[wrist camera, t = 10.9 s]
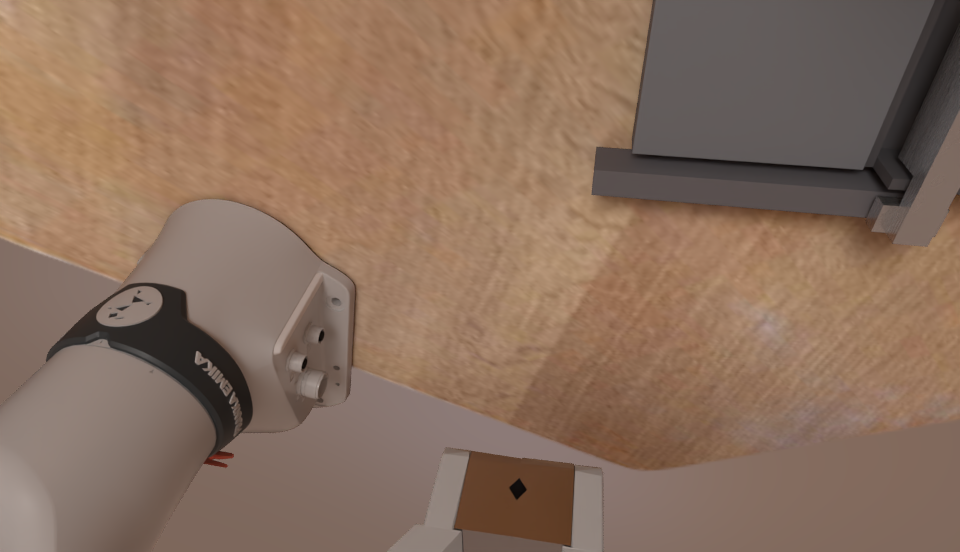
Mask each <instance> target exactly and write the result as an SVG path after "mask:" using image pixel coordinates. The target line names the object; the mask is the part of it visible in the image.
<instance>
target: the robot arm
mask: <svg viewBox="0 0 960 552" xmlns="http://www.w3.org/2000/svg"><path fill="white" fill-rule="evenodd" d="M337 298H338V299H339V300H338V299H337ZM354 304H355V286H354V284H353V282H352V281H351V280H350V279H349V278H348V277H347V276H346V275H344V274H343V273H341V272H340V271H338V270H337V269H335V268H333V267H332V266H330V265H328V264H326V263H325V262H323V261H322V260H320V259H319V258H318V257H317V256H316V255H315V254H314V253H313V252H312V251H311V250H310V249H309V248H308V247H307V245H306V244H305V243H304V242H303V241H302V240H301V239H300V238H299V237H298V236H297V235H295V234H294V233H293V232H292V231H291V230H289V229H288V228H287V227H286V226H284V225H283V224H281V223H280V222H279V221H277V220H275V219H274V218H272V217H270V216H269V215H267V214H265V213H263V212H261V211H259V210H256V209H254V208H252V207H249V206H246V205H243V204H240V203H236V202H232V201H227V200H219V199H204V200H197V201H193V202H190V203H187V204H185V205H183V206H181V207H179V208H178V209H176V210H175V211H174V212H173V213H172V214H171V215H170V216H169V218H168V219H167V221H166V223H165V225H164V227H163V228H162V230H161V232H160V234H159V235H158V237H157V239H156V240H155V242H154V243H153V244H152V246H151V247H150V248H149V249H148V250H147V251H146V252H145V253H144V254H143V255H142V257H141V258H140V259H139V260H138V262H137V266H136V267H135V268H134V270H133V271H132V272H131V273H130V275H129V276H128V277H127V278H126V280H125V281H124V282H123V283H122V284H121V286H120V287H119V288H118V289H117V291H116V292H115V293H114V294H113V295H111V296H110V297H108V298H107V299H106V300H104V301H103V302H102V303H100V304H99V305H97V306H96V307H94V308H93V309H92V310H90V311H89V312H88V313H87V314H86V315H85V316H84V317H83V318H81V319H80V320H79V321H78V322H77V323H76V324H75V325H74V326H73V327H72V328H71V329H70V330H69V331H68V332H66V333H65V334H64V335H63V336H62V337H61V338H60V339H59V341H58V342H57V343H56V344H55V345H54V346H53V347H52V348H51V349H50V351H49V352H48V354H47V359H46V363H45V364H44V365H43V366H42V367H41V368H40V369H39V370H38V371H37V372H35V373H34V374H33V375H32V376H31V377H30V378H29V379H28V380H27V381H26V382H25V383H24V384H23V385H21V386H20V387H19V388H18V389H17V390H16V391H15V392H14V393H13V394H12V395H11V396H10V397H9V398H7V399H6V400H5V401H4V402H3V403H2V404H1V405H0V552H152V551H153V549H154V547H155V545H156V543H157V541H158V539H159V538H160V536H161V534H162V532H163V530H164V528H165V527H166V525H167V523H168V521H169V519H170V517H171V516H172V514H173V512H174V511H175V509H176V507H177V505H178V504H179V502H180V500H181V498H182V497H183V495H184V493H185V492H186V490H187V489H188V487H189V485H190V483H191V482H192V480H193V479H194V477H195V476H196V474H197V472H198V471H199V469H200V468H201V466H202V465H203V464H209V465H214V466H220V467H227V464H224V463H221V462H217V461H214V460H213V459H228V458H233V457H234V454H232V453H227V452H221V451H220V450H221V449H222V448H223V447H225V446H226V445H227V444H228V443H230V442H231V441H232V440H233V439H234V438H235V437H236V436H238V434H240V433H275V432H283V431H287V430H291V429H293V428H295V427H297V426H299V425H300V424H301V423H302V422H303V421H304V420H305V419H306V417H307V416H308V414H309V413H310V411H311V409H312V408H316V407H328V406H333V405H337V404H340V403H343V402H345V400H346V399H347V397H348V395H349V394H350V386H351V366H352V346H353V325H354ZM603 531H604V529H603V472H602V469H601V468H598V467H589V466H580V465H575V466H574V464H572V463H571V464H570V463H563V462H554V461H546V460H537V459H528V458H522V459H521V458H514V457H508V456H501V455H494V454H488V453H482V452H475V451H469V450H462V449H454V448H447V447H446V448H445V450H444V452H443V454H442V457H441V460H440V465H439V468H438V472H437V476H436V479H435V483H434V487H433V491H432V494H431V498H430V502H429V506H428V509H427V513H426V517H425V520H424V524H423V525H422V524H415V525H414V526H413V527H412V528H411V529H410V530H409V531H408V532H407V533H406V534H405V535H403V537H401V538H400V539H399V540H398V541H397V542H396V543H395V544H394V545H393V546H392V547H391V548H390V549H389V550H388V551H387V552H604V537H603V536H604V535H603V534H604V532H603Z"/></svg>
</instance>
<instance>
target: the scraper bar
mask: <svg viewBox="0 0 960 552" xmlns="http://www.w3.org/2000/svg"><path fill="white" fill-rule="evenodd" d="M898 157H899V159H900V160H901V161H902V162H903V164H904V165H905V166H906V167H907V169H908V170H909V171H910V173H911V174H912V175H913V178H912V180H911V182H910V184H909V186H908V188H907V190H906V192H905V194H904V197H893V196H880V195H877V197H876V199H875V201H874V203H873V205H872V208H871V210H870V212H869V214H868V216H867V219H866V221H865V222H866V224H867V225H868V227H869V229H870V230H871V232H882V233H886V234H887V236H888V237H889V239H890V240H891V242H892V244H902V245H914V246H925V247H927V246H928V245H929V243H930V241H931V239H932V237H935V236H936V234H937V232H938V230H939V229H940V227H941V225H942V223H943V221H944V219H945V218H946V216H947V214H948V212H949V209H948V208H949V206H950V205H951V203H952V201H953V199H954V197H955V195H956V194H957V192H958V190H959V188H960V24H959V26H958V28H957V30H956V32H955V34H954V37H953V39H952V41H951V43H950V45H949V47H948V50H947V52H946V54H945V56H944V58H943V61H942V63H941V65H940V67H939V69H938V71H937V74H936V76H935V78H934V80H933V82H932V84H931V87H930V89H929V91H928V93H927V95H926V98H925V100H924V102H923V104H922V106H921V108H920V111H919V113H918V115H917V117H916V119H915V121H914V124H913V126H912V128H911V130H910V132H909V134H908V137H907V139H906V141H905V143H904V145H903V148H902V150H901V152H900V154H899V156H898Z"/></svg>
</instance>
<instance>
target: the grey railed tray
mask: <svg viewBox="0 0 960 552" xmlns="http://www.w3.org/2000/svg"><path fill="white" fill-rule="evenodd" d="M934 1H935V0H653V4H652V10H651V17H650V23H649V30H648V37H647V43H646V50H645V56H644V63H643V70H642V76H641V83H640V89H639V96H638V103H637V109H636V116H635V123H634V129H633V136H632V149H618V148H603V147H597V149H596V157H595V166H594V176H593V185H592V195H601V196H613V197H625V198H636V199H648V200H660V201H672V202H684V203H696V204H708V205H720V206H732V207H744V208H756V209H768V210H780V211H792V212H804V213H816V214H828V215H840V216H852V217H864V218H867V216H868V214H869V212H870V210H871V208H872V205H873V203H874V201H875V199H876V197H877V195H880V196H893V197H904V194H905V192H906V191H905V190H892V189H887V187H886V186H885V184H884V183H883V181H882V180H881V178H880V177H879V176H878V174H877V173H876V171H875V170H874V168H873V167H864V166H865V164H866V161H867V159H868V157H869V154H870V152H871V150H872V147H873V145H874V143H875V140H876V138H877V135H878V133H879V131H880V128H881V126H882V124H883V121H884V119H885V117H886V114H887V112H888V110H889V107H890V105H891V103H892V100H893V98H894V96H895V93H896V91H897V88H898V86H899V84H900V81H901V79H902V77H903V74H904V72H905V70H906V67H907V65H908V63H909V60H910V58H911V56H912V53H913V51H914V49H915V46H916V44H917V41H918V39H919V37H920V34H921V32H922V30H923V27H924V25H925V23H926V20H927V18H928V16H929V13H930V11H931V9H932V6H933V4H934Z"/></svg>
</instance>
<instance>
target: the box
mask: <svg viewBox="0 0 960 552" xmlns="http://www.w3.org/2000/svg"><path fill="white" fill-rule="evenodd" d="M959 24H960V0H935V1H934V4H933V6H932V9H931V11H930V13H929V16H928V18H927V20H926V23H925V25H924V27H923V30H922V32H921V34H920V37H919V39H918V41H917V44H916V46H915V49H914V51H913V53H912V56H911V58H910V60H909V63H908V65H907V67H906V70H905V72H904V74H903V77H902V79H901V81H900V84H899V86H898V88H897V91H896V93H895V96H894V98H893V100H892V103H891V105H890V107H889V110H888V112H887V114H886V117H885V119H884V121H883V124H882V126H881V128H880V131H879V133H878V135H877V138H876V140H875V143H874V145H873V147H872V150H871V152H870V154H869V157H868V159H867V161H866V164H865V166H864V167H873V168H874V170H875V171H876V173H877V174H878V176H879V177H880V178H881V180H882V181H883V183H884V184H885V186H886V187H887V189H892V190H905V191H906V190H907V188H908V186H909V184H910V182H911V180H912V178H913V175H912V174H911V173H910V171H909V170H908V169H907V167H906V166H905V165H904V164H903V162H902V161H901V160H900V159H899V157H898V156H899V154H900V152H901V150H902V148H903V145H904V143H905V141H906V139H907V137H908V134H909V132H910V130H911V128H912V126H913V124H914V121H915V119H916V117H917V115H918V113H919V111H920V108H921V106H922V104H923V102H924V100H925V98H926V95H927V93H928V91H929V89H930V87H931V84H932V82H933V80H934V78H935V76H936V74H937V71H938V69H939V67H940V65H941V63H942V61H943V58H944V56H945V54H946V52H947V50H948V47H949V45H950V43H951V41H952V39H953V37H954V34H955V32H956V30H957V28H958V26H959ZM957 194H958V195H960V188H959V190H958V192H957Z"/></svg>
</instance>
